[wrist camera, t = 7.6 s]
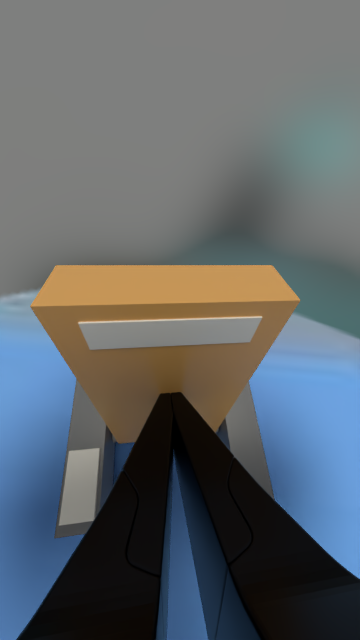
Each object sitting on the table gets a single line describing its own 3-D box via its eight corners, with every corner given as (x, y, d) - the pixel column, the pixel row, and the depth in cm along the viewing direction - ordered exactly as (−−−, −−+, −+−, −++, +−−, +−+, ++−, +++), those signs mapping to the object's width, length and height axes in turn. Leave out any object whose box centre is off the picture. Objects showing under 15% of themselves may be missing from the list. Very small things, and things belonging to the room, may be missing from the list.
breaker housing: (252, 487, 13) (277, 506, 10) (78, 510, 12) (52, 540, 9) (225, 343, 18) (238, 329, 15) (95, 349, 16) (81, 335, 14)
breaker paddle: (214, 435, 13) (301, 301, 5) (118, 444, 12) (28, 308, 4) (209, 407, 14) (271, 264, 6) (121, 415, 13) (56, 264, 5)
